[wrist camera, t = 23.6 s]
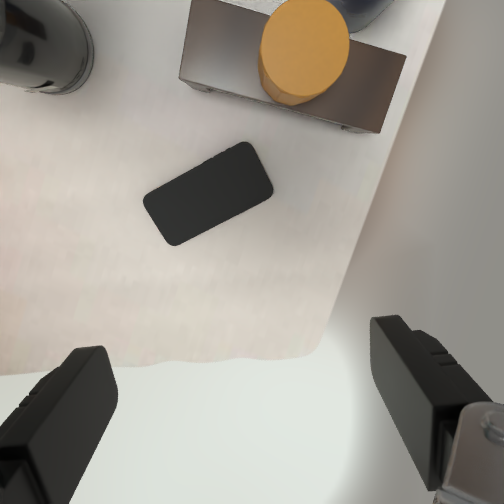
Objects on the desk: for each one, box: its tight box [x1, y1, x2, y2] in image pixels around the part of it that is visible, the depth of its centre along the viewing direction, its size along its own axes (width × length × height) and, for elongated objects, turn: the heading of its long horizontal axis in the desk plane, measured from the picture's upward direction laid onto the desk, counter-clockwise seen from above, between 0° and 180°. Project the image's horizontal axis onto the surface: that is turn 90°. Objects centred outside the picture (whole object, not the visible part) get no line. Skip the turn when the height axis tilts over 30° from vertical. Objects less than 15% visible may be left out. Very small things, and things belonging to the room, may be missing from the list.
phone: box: [143, 142, 273, 246], centre depth 43 cm, size 7×1×15 cm
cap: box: [258, 0, 350, 106], centre depth 29 cm, size 6×6×8 cm
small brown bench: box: [179, 0, 406, 134], centre depth 36 cm, size 20×7×7 cm, turn 76°
